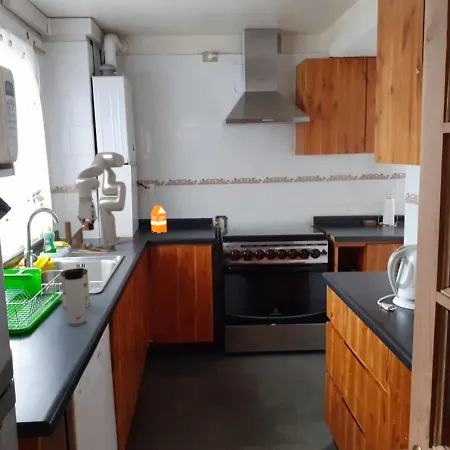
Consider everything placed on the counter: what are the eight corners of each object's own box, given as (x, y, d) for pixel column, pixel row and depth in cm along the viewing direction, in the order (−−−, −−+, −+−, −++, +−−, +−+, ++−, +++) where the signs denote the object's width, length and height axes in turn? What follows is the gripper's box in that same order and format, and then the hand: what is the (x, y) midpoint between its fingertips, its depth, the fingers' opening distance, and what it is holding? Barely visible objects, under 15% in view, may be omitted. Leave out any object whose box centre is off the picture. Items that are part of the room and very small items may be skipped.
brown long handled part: (82, 250, 330) (80, 222, 327) (65, 250, 330) (63, 222, 328) (84, 249, 333) (81, 221, 331) (67, 249, 334) (65, 221, 331)
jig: (90, 249, 332) (89, 240, 332) (119, 250, 322) (118, 242, 321) (70, 254, 316) (69, 245, 316) (100, 256, 306) (99, 247, 305)
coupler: (80, 230, 311) (79, 222, 310) (89, 228, 318) (88, 220, 317) (86, 231, 308) (86, 222, 308) (95, 229, 315) (95, 220, 315)
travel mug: (82, 326, 181) (78, 270, 179) (65, 326, 183) (60, 270, 180) (90, 320, 187) (86, 266, 185) (73, 320, 189) (68, 266, 186)
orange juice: (158, 233, 388) (156, 206, 385) (151, 232, 395) (150, 205, 392) (166, 231, 393) (165, 205, 391) (160, 230, 400) (158, 204, 397)
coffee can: (67, 302, 212) (64, 268, 210) (92, 301, 212) (90, 267, 210) (60, 310, 202) (57, 274, 200) (86, 309, 202) (84, 273, 200)
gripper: (101, 199, 310) (103, 229, 312) (79, 198, 317) (81, 228, 320) (92, 200, 303) (94, 231, 306) (70, 200, 311) (72, 230, 314)
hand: (88, 229), depth 313 cm, fingers closed on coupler, 5 cm apart
